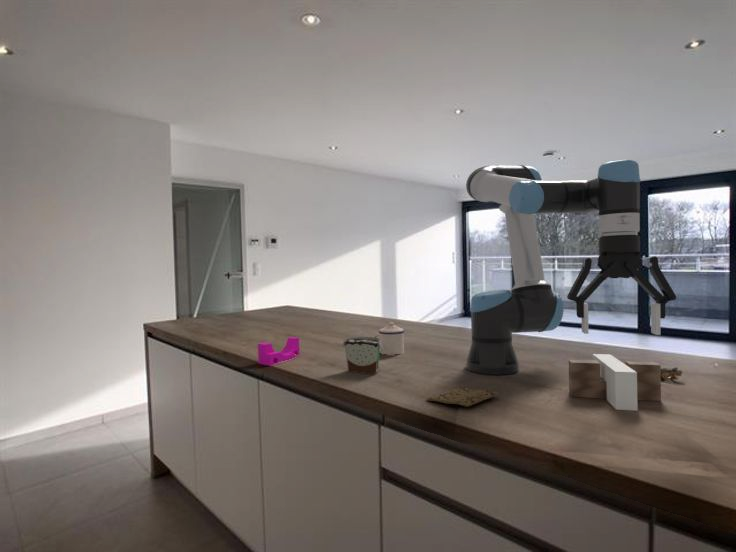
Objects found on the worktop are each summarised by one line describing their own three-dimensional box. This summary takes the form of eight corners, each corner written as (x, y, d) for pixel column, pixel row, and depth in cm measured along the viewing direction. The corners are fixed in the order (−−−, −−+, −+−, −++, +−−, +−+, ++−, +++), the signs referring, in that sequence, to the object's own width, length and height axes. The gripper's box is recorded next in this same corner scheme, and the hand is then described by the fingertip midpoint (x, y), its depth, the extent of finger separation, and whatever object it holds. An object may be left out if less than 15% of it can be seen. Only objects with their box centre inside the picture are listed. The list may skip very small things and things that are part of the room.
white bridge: (637, 410, 86) (636, 372, 86) (616, 409, 87) (615, 371, 87) (610, 386, 103) (610, 354, 103) (593, 385, 104) (592, 354, 104)
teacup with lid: (409, 353, 150) (408, 321, 150) (397, 358, 142) (396, 324, 142) (380, 351, 156) (379, 320, 156) (367, 355, 149) (366, 323, 148)
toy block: (270, 368, 134) (269, 345, 134) (258, 366, 138) (257, 343, 137) (304, 359, 146) (303, 338, 146) (292, 357, 149) (291, 337, 149)
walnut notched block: (572, 396, 96) (571, 362, 96) (569, 393, 99) (568, 359, 99) (661, 401, 91) (660, 365, 91) (655, 396, 94) (654, 362, 94)
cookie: (456, 389, 106) (456, 381, 106) (498, 400, 96) (498, 391, 96) (425, 400, 98) (425, 391, 98) (467, 412, 89) (467, 403, 89)
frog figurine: (689, 379, 110) (689, 364, 110) (678, 388, 102) (678, 373, 101) (639, 371, 118) (639, 358, 118) (625, 380, 110) (625, 366, 110)
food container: (388, 370, 126) (388, 337, 126) (381, 375, 121) (380, 341, 120) (352, 367, 131) (352, 335, 131) (343, 371, 126) (342, 339, 126)
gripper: (559, 236, 88) (560, 335, 89) (695, 230, 82) (696, 337, 83) (553, 238, 96) (554, 329, 96) (678, 233, 89) (678, 331, 90)
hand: (619, 333), depth 89 cm, fingers open, 13 cm apart
